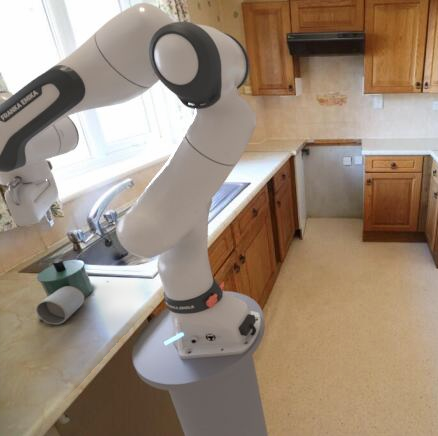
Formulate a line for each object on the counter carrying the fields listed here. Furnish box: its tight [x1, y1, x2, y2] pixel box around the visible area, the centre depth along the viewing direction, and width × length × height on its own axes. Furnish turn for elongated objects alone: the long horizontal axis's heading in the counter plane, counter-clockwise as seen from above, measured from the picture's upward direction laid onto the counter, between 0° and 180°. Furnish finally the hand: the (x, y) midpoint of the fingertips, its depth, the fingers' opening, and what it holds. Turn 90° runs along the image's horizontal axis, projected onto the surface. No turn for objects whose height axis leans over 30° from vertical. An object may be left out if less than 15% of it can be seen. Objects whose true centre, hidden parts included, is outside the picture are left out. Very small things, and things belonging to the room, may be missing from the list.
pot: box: [40, 267, 94, 299], centre depth 95 cm, size 10×10×8 cm
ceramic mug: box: [35, 286, 85, 326], centre depth 87 cm, size 11×8×8 cm
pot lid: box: [36, 258, 85, 283], centre depth 93 cm, size 11×11×4 cm
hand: (48, 228), depth 76 cm, fingers closed
